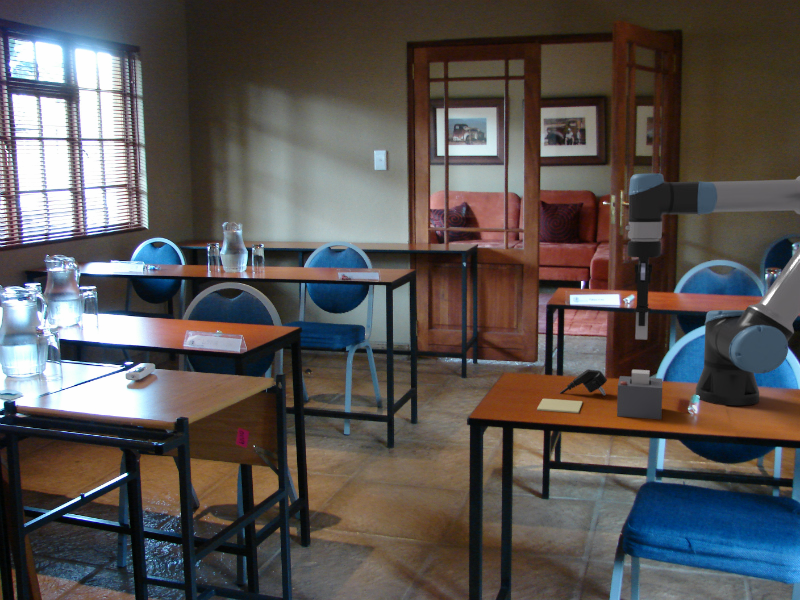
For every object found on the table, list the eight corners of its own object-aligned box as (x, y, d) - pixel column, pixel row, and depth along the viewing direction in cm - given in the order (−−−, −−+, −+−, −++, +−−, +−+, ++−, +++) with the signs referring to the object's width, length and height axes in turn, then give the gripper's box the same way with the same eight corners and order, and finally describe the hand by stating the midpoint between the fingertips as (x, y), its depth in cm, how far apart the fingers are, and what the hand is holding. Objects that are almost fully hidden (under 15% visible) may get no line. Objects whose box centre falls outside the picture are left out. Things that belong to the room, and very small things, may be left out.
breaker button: (649, 386, 189) (649, 370, 188) (648, 390, 185) (649, 374, 185) (631, 385, 190) (632, 369, 190) (631, 389, 186) (631, 373, 186)
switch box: (661, 408, 191) (662, 376, 190) (661, 419, 182) (662, 385, 181) (619, 405, 195) (620, 373, 194) (617, 416, 185) (617, 382, 184)
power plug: (558, 388, 209) (595, 362, 206) (575, 410, 208) (612, 385, 206) (558, 393, 203) (596, 367, 200) (576, 416, 203) (614, 390, 200)
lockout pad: (582, 402, 197) (582, 401, 197) (578, 413, 188) (578, 411, 188) (542, 400, 201) (542, 398, 201) (536, 410, 191) (536, 408, 191)
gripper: (628, 238, 190) (626, 333, 193) (626, 241, 178) (623, 342, 181) (661, 238, 188) (657, 335, 191) (661, 241, 176) (657, 344, 179)
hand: (641, 338), depth 186 cm, fingers closed
